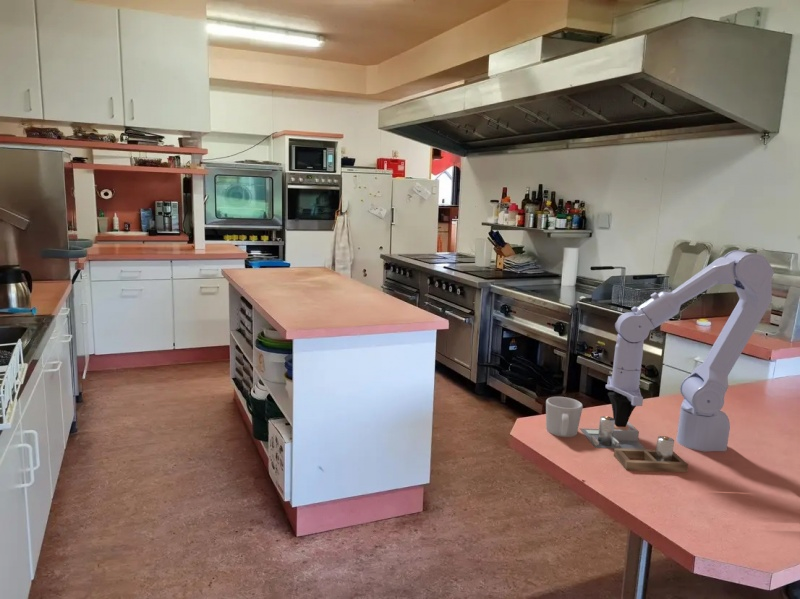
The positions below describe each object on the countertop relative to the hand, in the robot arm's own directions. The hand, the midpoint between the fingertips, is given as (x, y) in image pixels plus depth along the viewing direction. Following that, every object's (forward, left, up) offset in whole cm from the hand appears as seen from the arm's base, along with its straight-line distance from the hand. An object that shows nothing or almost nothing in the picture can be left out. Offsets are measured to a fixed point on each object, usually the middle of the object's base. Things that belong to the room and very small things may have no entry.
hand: (620, 425), depth 129 cm
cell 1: (+5, +5, -2) cm, 7 cm away
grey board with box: (+2, +2, -3) cm, 5 cm away
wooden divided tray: (-1, +14, -3) cm, 15 cm away
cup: (+13, 0, -4) cm, 14 cm away
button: (0, 0, -2) cm, 2 cm away
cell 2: (-3, +14, -2) cm, 15 cm away
